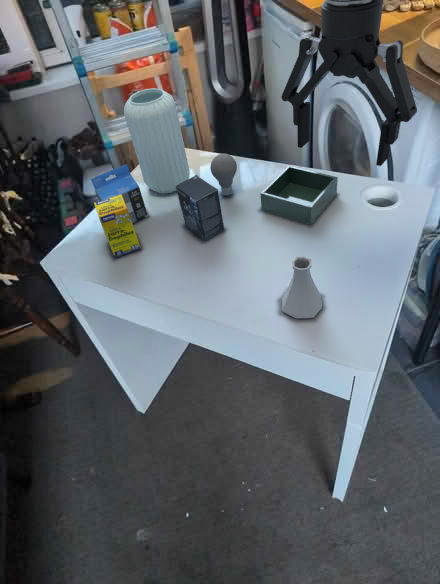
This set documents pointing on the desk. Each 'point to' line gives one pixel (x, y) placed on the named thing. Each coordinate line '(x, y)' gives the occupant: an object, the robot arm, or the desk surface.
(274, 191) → the caddy
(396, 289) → the desk surface
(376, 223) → the desk surface
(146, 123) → the vase
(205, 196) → the box
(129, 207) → the tape cartridge
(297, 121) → the robot arm
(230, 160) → the light bulb
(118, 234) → the supplement box
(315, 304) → the flask
